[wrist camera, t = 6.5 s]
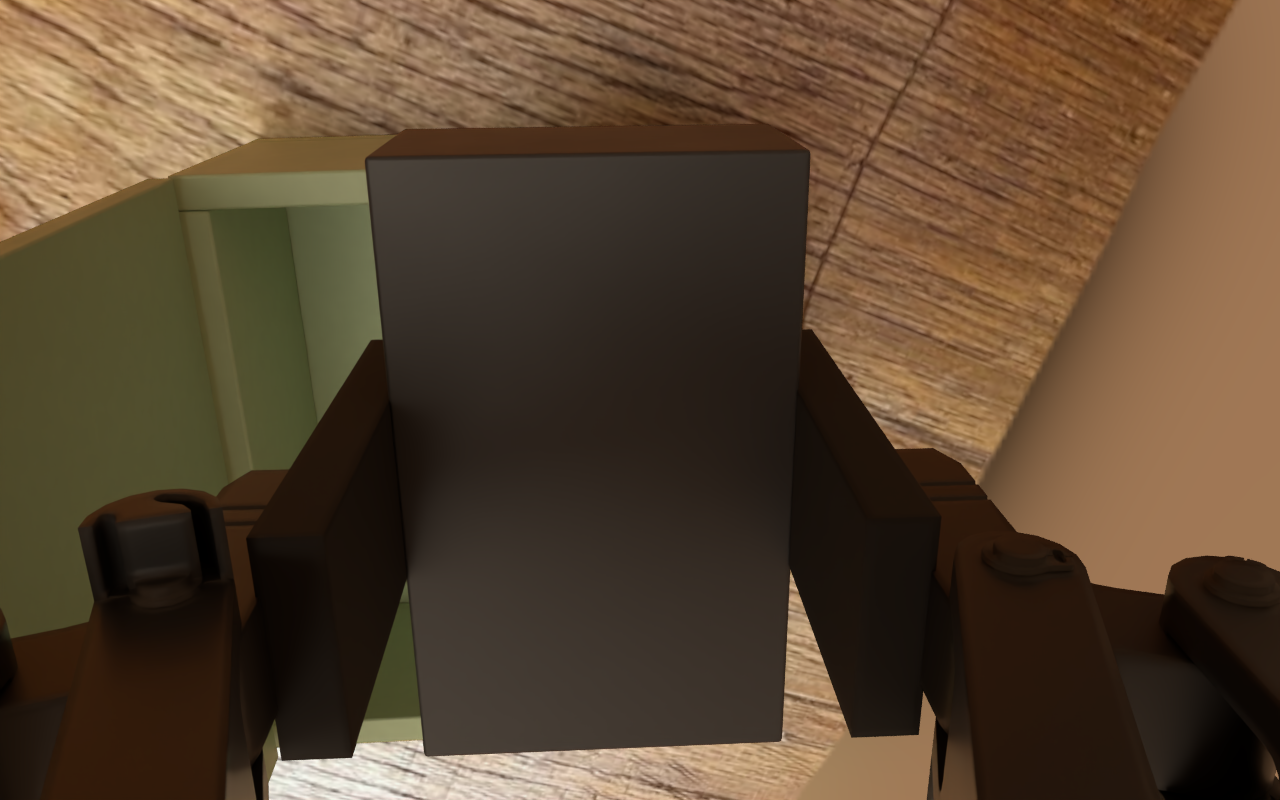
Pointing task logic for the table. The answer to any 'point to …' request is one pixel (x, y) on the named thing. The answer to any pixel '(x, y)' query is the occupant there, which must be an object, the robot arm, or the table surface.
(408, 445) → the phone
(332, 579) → the robot arm
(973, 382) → the table surface
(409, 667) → the case
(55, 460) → the cover
